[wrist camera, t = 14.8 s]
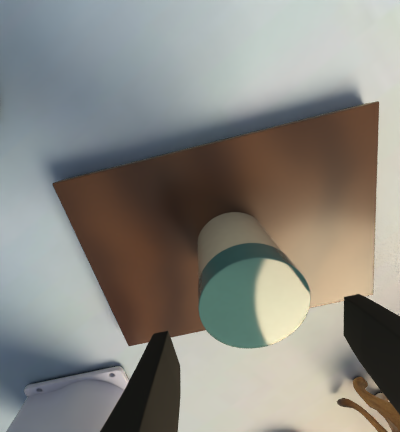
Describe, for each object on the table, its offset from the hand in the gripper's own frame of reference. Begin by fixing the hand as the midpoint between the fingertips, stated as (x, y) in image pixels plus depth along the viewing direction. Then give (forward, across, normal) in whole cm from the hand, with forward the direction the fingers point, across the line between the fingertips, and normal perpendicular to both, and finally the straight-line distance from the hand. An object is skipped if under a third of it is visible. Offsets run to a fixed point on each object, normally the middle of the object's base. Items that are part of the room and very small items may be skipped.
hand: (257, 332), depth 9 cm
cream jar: (+7, 0, 0) cm, 7 cm away
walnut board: (+8, 0, 0) cm, 8 cm away
